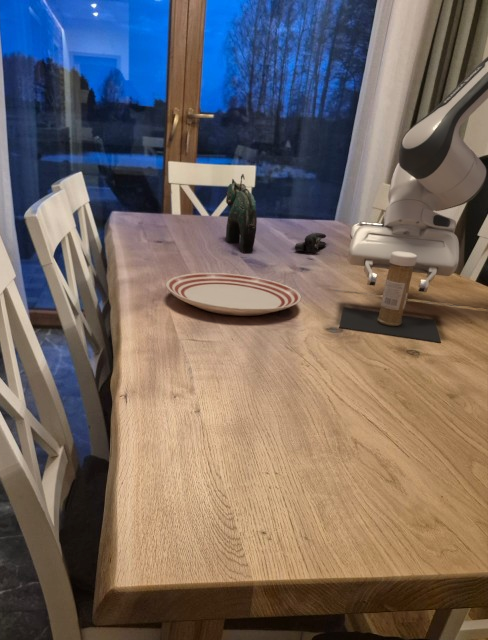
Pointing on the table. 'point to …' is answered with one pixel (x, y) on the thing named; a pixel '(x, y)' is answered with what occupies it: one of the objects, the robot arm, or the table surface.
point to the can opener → (311, 243)
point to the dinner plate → (232, 293)
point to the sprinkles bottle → (396, 288)
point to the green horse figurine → (241, 216)
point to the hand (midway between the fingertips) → (396, 287)
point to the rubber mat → (407, 329)
